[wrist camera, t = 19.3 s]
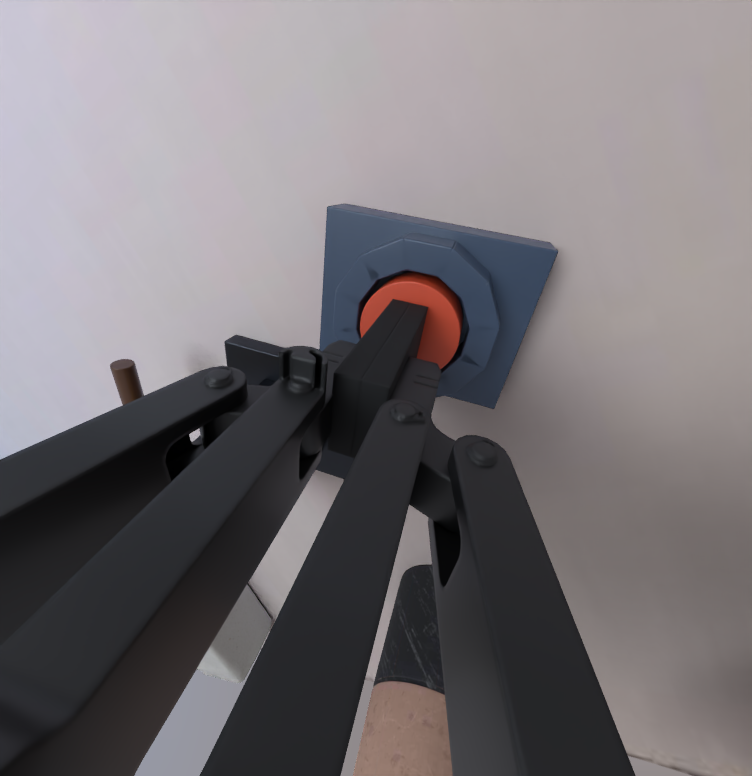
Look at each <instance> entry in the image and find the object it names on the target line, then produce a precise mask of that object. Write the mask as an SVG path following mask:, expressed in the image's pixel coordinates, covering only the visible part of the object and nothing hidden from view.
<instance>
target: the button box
mask: <svg viewBox="0 0 752 776" xmlns="http://www.w3.org/2000/svg"><path fill="white" fill-rule="evenodd" d="M557 253H558V251H557V249H556V248H555V247H554V246H553V245H552V244H551V243H550V242H544V241H539V240H534V239H529V238H523V237H518V236H513V235H508V234H502V233H497V232H492V231H486V230H481V229H476V228H471V227H465V226H460V225H455V224H450V223H444V222H439V221H434V220H429V219H423V218H418V217H413V216H407V215H402V214H397V213H392V212H386V211H381V210H376V209H371V208H365V207H360V206H355V205H349V204H340V205H334V206H328V207H327V221H326V239H325V258H324V277H323V295H322V314H321V332H320V350H321V351H322V352H323V350H324V349H325V348H326V347H327V346H328V345H329V344H331V343H334V342H336V341H339V340H343V341H347V342H351V343H355V344H357V343H358V342H359V340H360V339H361V332H360V320H361V315H362V312H363V309H364V307H365V305H366V303H367V302H368V300H369V299H370V298H371V297H372V296H373V295H374V293H376V292H377V291H378V290H379V289H380V288H381V287H382V286H383V285H384V284H385V283H386V282H387V281H389V280H390V279H392V278H393V277H395V276H398V275H400V274H404V273H409V272H418V273H423V274H427V275H432V276H435V277H437V278H439V279H441V280H442V281H443V282H444V283H445V284H446V285H447V286H448V287H449V288H450V289H451V290H452V291H453V292H454V293H455V294H456V295H457V297H458V299H459V301H460V304H461V307H462V312H463V326H462V331H461V335H460V340H459V345H458V348H457V350H456V352H455V354H454V356H453V357H452V359H451V360H450V361H449V362H448V363H447V364H446V365H445V366H444V367H443V368H442V369H440V370H441V372H442V373H441V377H440V381H439V385H438V389H437V393H436V397H440V396H448V397H452V398H456V399H459V400H463V401H467V402H470V403H474V404H478V405H481V406H485V407H489V408H492V409H494V408H495V405H496V403H497V401H498V398H499V396H500V393H501V391H502V388H503V386H504V383H505V381H506V378H507V376H508V374H509V371H510V369H511V366H512V364H513V361H514V359H515V356H516V354H517V351H518V349H519V347H520V344H521V342H522V339H523V337H524V334H525V332H526V329H527V327H528V324H529V322H530V320H531V317H532V315H533V312H534V310H535V307H536V305H537V302H538V300H539V297H540V295H541V293H542V290H543V288H544V285H545V283H546V280H547V278H548V275H549V273H550V271H551V268H552V266H553V263H554V261H555V258H556V256H557Z"/></svg>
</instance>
